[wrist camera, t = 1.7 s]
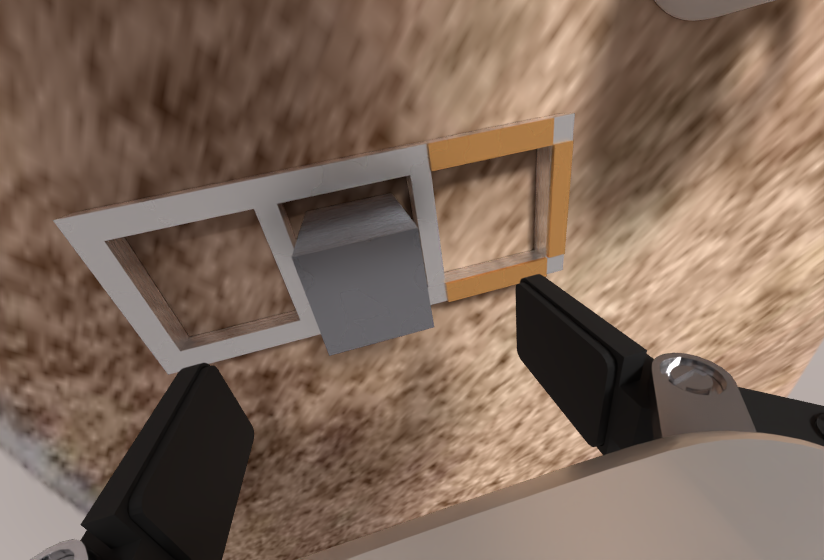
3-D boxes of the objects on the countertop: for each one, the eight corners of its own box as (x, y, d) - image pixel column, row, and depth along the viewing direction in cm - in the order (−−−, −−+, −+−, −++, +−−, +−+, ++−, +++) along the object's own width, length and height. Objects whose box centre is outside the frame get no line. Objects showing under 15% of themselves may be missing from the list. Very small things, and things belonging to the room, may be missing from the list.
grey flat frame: (74, 212, 14) (49, 221, 12) (559, 113, 16) (577, 113, 15) (178, 359, 18) (166, 377, 17) (550, 262, 20) (564, 271, 19)
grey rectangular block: (305, 211, 16) (291, 257, 11) (391, 192, 16) (418, 227, 11) (330, 286, 18) (329, 355, 13) (405, 267, 18) (434, 326, 13)
